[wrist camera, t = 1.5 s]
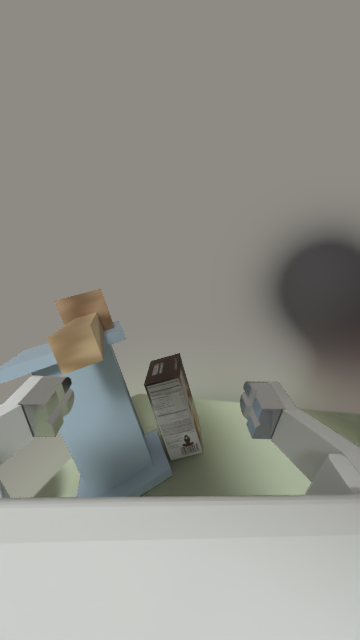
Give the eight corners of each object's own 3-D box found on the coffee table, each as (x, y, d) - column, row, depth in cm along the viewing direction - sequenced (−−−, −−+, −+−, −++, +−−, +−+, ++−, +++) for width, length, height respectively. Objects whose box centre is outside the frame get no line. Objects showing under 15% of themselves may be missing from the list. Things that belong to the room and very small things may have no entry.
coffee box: (170, 424, 43) (150, 360, 40) (198, 417, 43) (180, 352, 39) (169, 462, 34) (142, 384, 31) (204, 453, 34) (181, 374, 30)
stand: (157, 434, 41) (118, 320, 35) (173, 475, 32) (122, 329, 26) (84, 474, 36) (24, 350, 31) (76, 535, 27) (-10, 373, 21)
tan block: (112, 322, 35) (101, 290, 33) (121, 353, 16) (96, 281, 15) (77, 333, 33) (64, 300, 32) (40, 383, 14) (2, 304, 13)
